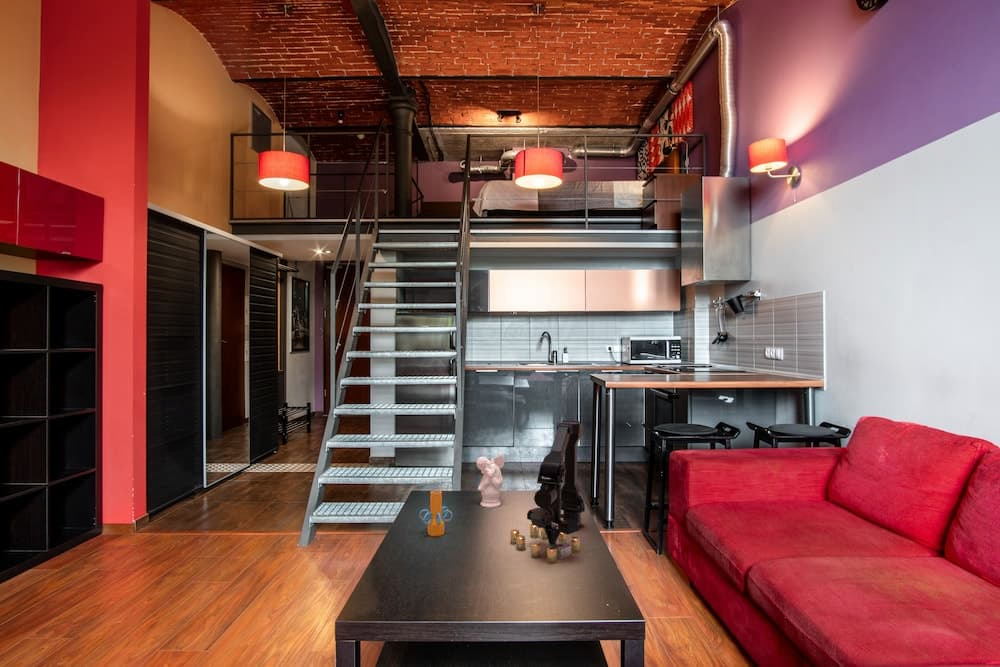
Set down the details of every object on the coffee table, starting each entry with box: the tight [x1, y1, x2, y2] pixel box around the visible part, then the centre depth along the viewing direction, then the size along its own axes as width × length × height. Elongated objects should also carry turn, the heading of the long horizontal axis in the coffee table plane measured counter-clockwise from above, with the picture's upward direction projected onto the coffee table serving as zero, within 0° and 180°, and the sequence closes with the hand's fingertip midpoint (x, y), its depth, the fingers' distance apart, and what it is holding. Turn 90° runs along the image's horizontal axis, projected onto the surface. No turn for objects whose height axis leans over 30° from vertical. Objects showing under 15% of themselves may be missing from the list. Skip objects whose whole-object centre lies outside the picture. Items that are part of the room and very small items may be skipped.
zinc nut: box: [548, 540, 572, 560], centre depth 165 cm, size 5×5×3 cm
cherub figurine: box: [476, 453, 506, 509], centre depth 217 cm, size 12×12×22 cm
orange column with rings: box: [418, 489, 454, 537], centre depth 183 cm, size 12×10×15 cm
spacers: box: [510, 523, 581, 565], centre depth 171 cm, size 17×22×4 cm
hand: (552, 546), depth 167 cm, fingers closed
